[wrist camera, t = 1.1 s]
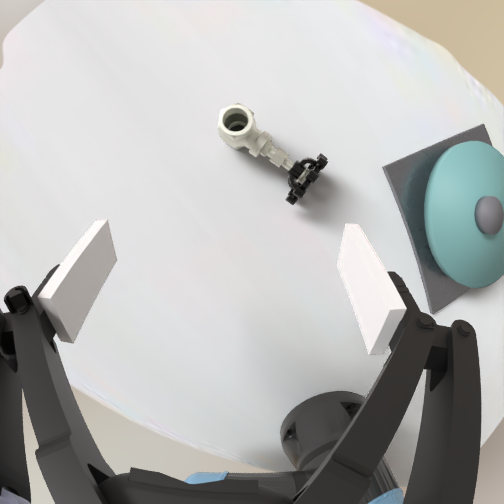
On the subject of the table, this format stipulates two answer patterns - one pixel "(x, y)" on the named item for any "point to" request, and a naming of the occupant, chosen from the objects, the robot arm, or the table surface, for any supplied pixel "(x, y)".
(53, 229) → the table surface
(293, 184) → the valve
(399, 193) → the wheel stand
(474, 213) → the handwheel
